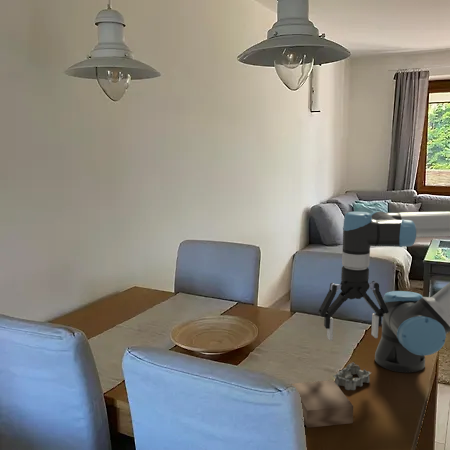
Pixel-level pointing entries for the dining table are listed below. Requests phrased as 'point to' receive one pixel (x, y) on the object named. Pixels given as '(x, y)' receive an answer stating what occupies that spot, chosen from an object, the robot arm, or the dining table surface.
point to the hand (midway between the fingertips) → (352, 337)
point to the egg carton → (351, 377)
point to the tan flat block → (324, 404)
